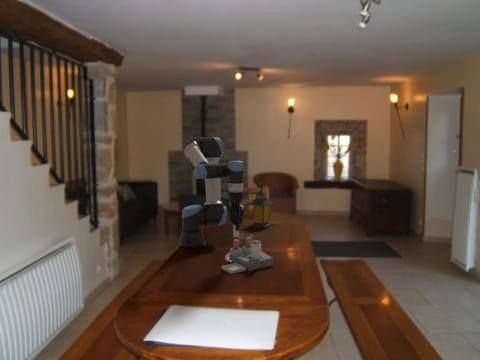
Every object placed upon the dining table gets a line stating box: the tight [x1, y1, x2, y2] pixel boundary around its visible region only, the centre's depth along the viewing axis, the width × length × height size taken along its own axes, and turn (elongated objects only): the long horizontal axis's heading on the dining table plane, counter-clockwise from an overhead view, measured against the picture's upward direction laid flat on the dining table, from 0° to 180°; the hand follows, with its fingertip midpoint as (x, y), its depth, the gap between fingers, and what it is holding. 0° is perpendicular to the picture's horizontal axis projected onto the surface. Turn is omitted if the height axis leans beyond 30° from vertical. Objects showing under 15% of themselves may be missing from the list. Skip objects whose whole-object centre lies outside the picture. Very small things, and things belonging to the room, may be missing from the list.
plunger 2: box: [246, 237, 253, 247], centre depth 218 cm, size 3×3×4 cm
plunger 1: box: [232, 238, 239, 249], centre depth 213 cm, size 3×3×4 cm
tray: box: [221, 263, 247, 275], centre depth 202 cm, size 9×9×2 cm
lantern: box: [248, 183, 274, 229], centre depth 297 cm, size 14×14×30 cm
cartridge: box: [251, 239, 262, 260], centre depth 208 cm, size 5×5×13 cm
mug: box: [236, 233, 254, 251], centre depth 228 cm, size 12×9×11 cm
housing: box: [228, 246, 274, 272], centre depth 212 cm, size 18×15×7 cm
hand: (236, 236), depth 213 cm, fingers closed
